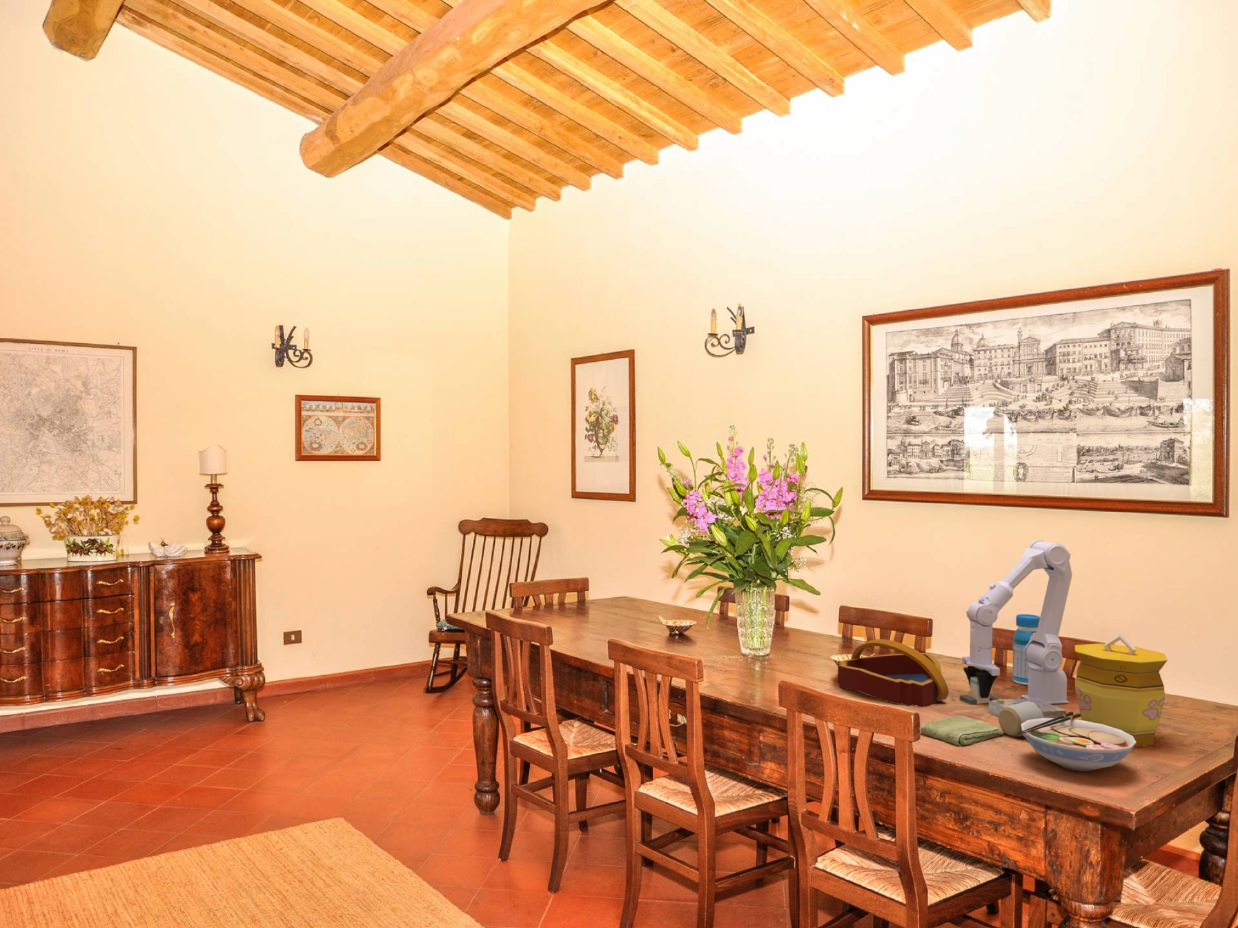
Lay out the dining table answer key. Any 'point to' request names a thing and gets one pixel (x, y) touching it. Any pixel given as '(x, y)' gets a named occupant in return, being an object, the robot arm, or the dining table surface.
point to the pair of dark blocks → (972, 700)
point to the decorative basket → (894, 675)
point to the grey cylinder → (1018, 717)
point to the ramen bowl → (1077, 742)
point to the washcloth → (960, 730)
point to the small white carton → (977, 691)
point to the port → (1045, 707)
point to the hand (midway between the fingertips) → (979, 695)
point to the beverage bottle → (1022, 646)
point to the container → (1121, 687)
